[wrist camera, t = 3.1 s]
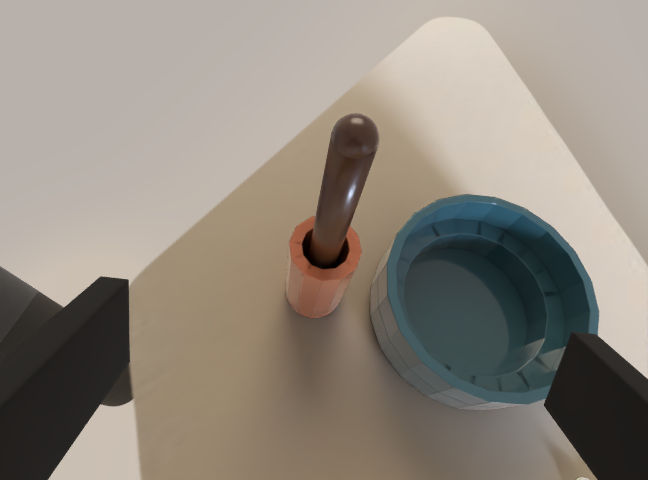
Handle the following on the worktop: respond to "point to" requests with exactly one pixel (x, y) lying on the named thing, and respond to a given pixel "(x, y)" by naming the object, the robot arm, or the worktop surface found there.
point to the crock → (318, 273)
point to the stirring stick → (342, 186)
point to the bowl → (479, 302)
